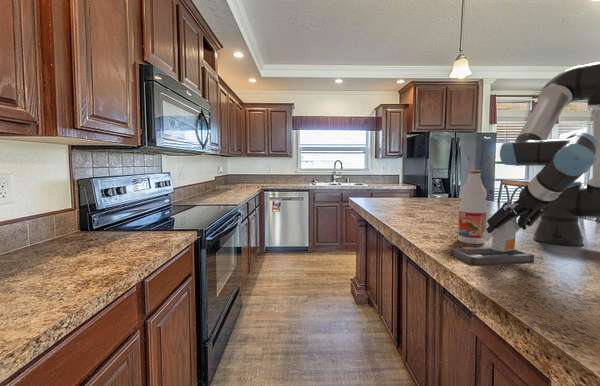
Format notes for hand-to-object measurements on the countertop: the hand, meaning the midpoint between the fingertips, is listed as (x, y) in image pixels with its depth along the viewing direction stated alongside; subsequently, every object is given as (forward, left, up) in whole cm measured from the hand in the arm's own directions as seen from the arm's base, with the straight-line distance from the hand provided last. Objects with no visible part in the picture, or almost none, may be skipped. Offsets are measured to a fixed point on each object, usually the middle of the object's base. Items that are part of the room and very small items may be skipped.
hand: (495, 236), depth 108 cm
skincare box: (0, +3, -4) cm, 5 cm away
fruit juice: (-4, -18, -7) cm, 19 cm away
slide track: (+4, +3, -6) cm, 8 cm away
